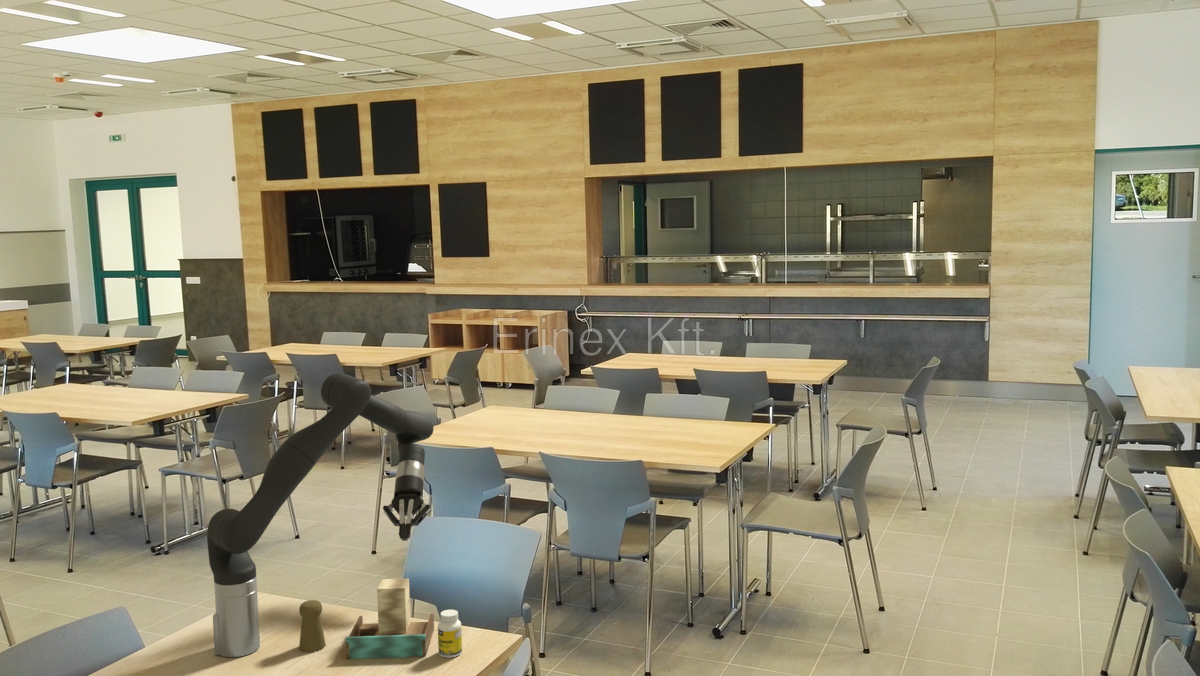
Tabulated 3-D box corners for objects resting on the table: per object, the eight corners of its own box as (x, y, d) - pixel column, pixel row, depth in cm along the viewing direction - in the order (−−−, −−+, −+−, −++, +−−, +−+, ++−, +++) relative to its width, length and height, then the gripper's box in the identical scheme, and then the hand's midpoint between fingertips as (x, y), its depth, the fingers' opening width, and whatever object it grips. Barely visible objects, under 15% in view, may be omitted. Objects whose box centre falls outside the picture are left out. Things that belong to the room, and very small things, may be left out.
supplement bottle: (433, 655, 216) (432, 614, 215) (448, 646, 220) (446, 606, 219) (452, 660, 213) (451, 618, 212) (466, 651, 218) (465, 610, 217)
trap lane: (346, 659, 214) (345, 638, 214) (360, 631, 230) (359, 612, 229) (425, 656, 215) (425, 635, 215) (434, 629, 230) (433, 609, 230)
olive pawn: (313, 639, 225) (311, 595, 224) (331, 645, 222) (329, 600, 221) (293, 649, 220) (291, 603, 219) (311, 654, 217) (309, 608, 216)
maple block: (378, 633, 223) (377, 589, 222) (383, 622, 230) (382, 579, 229) (406, 632, 224) (404, 588, 223) (410, 621, 230) (408, 578, 229)
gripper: (382, 474, 250) (376, 533, 240) (432, 473, 251) (428, 531, 240) (387, 488, 256) (380, 546, 245) (435, 487, 257) (431, 545, 246)
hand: (404, 539), depth 243 cm, fingers closed
